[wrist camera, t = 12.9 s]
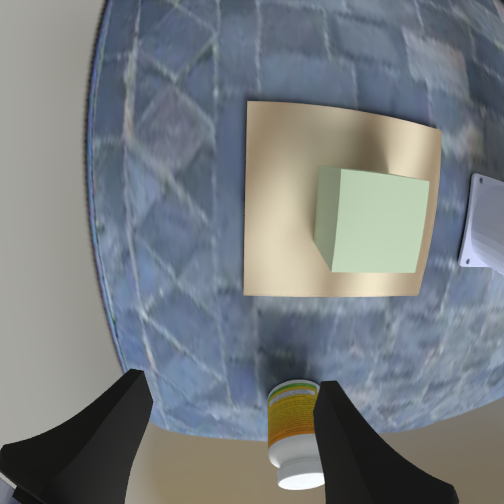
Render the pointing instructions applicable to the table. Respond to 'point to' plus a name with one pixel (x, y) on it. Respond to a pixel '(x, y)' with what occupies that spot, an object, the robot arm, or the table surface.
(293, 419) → the supplement bottle
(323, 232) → the sage cube
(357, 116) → the wooden board
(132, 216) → the table surface
